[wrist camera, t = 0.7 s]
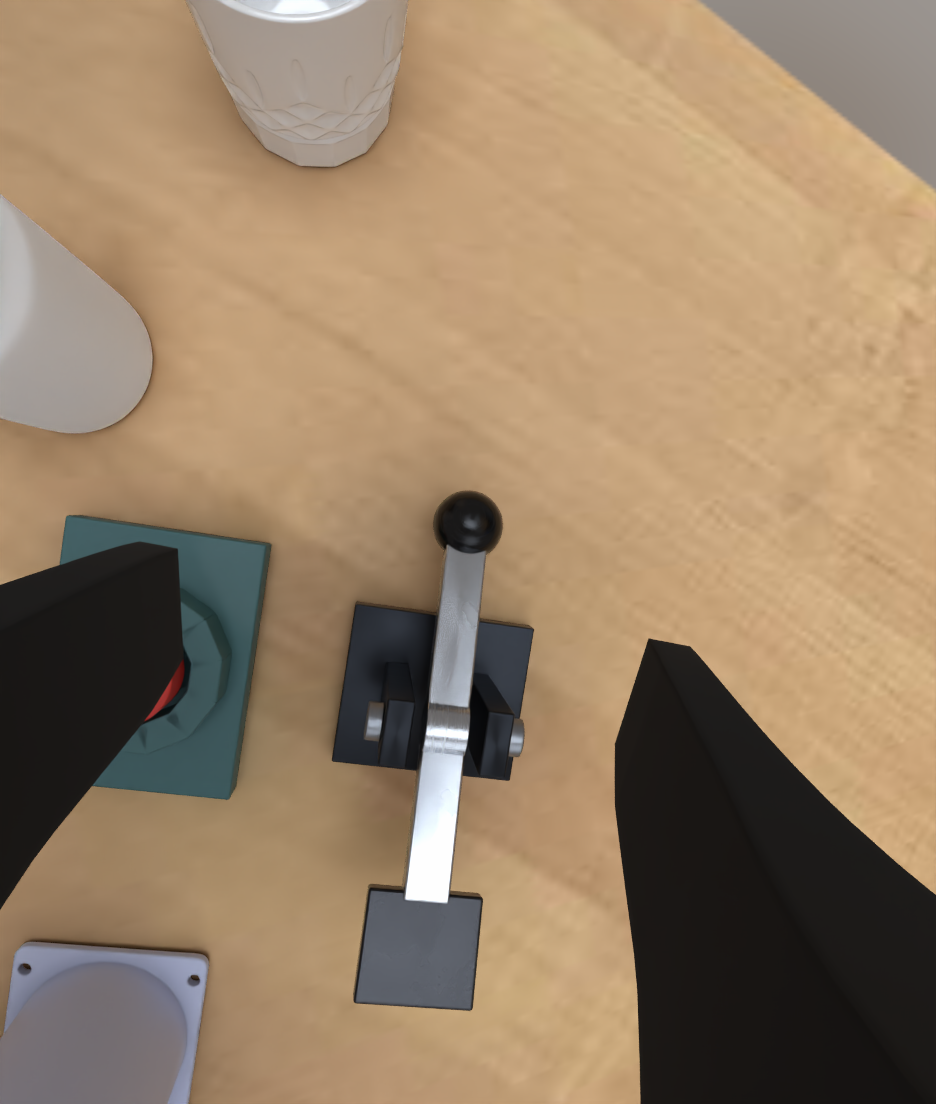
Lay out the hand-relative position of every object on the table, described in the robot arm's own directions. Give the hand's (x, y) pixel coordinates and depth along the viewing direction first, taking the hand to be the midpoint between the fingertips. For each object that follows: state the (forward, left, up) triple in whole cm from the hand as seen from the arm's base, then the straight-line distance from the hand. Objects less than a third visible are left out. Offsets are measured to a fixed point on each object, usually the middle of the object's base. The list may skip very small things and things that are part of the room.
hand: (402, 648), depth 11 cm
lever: (-6, -3, -16) cm, 17 cm away
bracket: (-6, -3, -21) cm, 22 cm away
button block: (-6, +9, -21) cm, 23 cm away
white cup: (+19, +6, -21) cm, 29 cm away
